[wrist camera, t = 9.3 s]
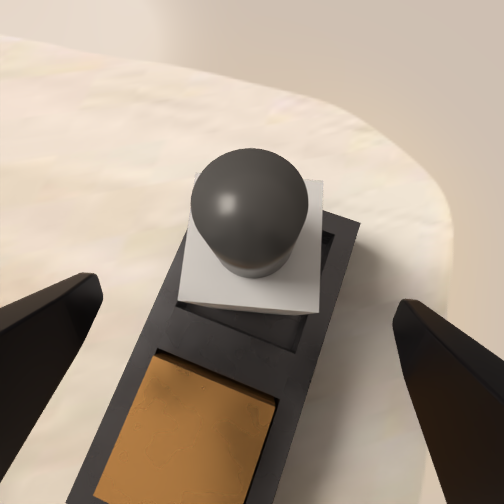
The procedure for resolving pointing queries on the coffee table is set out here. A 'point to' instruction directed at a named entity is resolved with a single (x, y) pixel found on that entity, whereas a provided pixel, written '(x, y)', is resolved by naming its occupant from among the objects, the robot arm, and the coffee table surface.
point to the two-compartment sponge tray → (211, 396)
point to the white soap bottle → (253, 236)
